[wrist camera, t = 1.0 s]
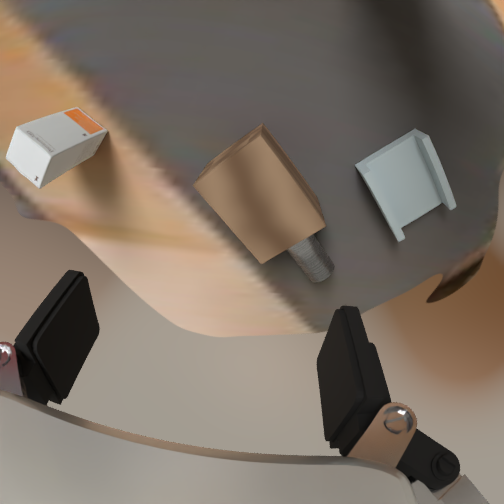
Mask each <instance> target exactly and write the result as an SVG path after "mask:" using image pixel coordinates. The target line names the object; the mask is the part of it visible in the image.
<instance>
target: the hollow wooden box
mask: <svg viewBox="0 0 504 504" xmlns="http://www.w3.org/2000/svg"><path fill="white" fill-rule="evenodd" d="M193 186H194V187H195V189H196V190H197V191H198V192H199V193H200V194H201V195H202V197H203V198H204V199H205V200H206V201H207V202H208V204H209V205H210V206H211V207H212V208H213V209H214V210H215V212H216V213H217V214H218V215H219V216H220V217H221V218H222V220H223V221H224V222H225V223H226V224H227V225H228V226H229V228H230V229H231V230H232V231H233V232H234V233H235V235H236V236H237V237H238V238H239V239H240V240H241V241H242V243H243V244H244V245H245V246H246V247H247V248H248V249H249V251H250V252H251V253H252V254H253V255H254V256H255V257H256V259H257V260H258V261H259V262H260V263H261V264H263V263H264V262H266V261H268V260H269V259H271V258H273V257H275V256H276V255H278V254H280V253H282V252H283V251H285V250H287V249H288V248H290V247H292V246H293V245H295V244H297V243H299V242H300V241H302V240H304V239H305V238H307V237H309V236H310V235H312V234H314V233H316V232H317V231H319V230H321V229H322V228H324V227H326V224H325V221H324V217H323V214H322V211H321V208H320V205H319V202H318V198H317V196H316V195H315V193H314V192H313V191H312V189H311V188H310V186H309V185H308V183H307V182H306V181H305V179H304V178H303V176H302V175H301V173H300V172H299V171H298V169H297V168H296V167H295V165H294V164H293V162H292V161H291V160H290V158H289V157H288V156H287V154H286V153H285V151H284V150H283V149H282V147H281V146H280V145H279V143H278V142H277V141H276V139H275V138H274V137H273V135H272V134H271V133H270V132H269V130H268V129H267V128H266V126H265V125H264V124H263V123H262V124H261V125H259V126H258V127H257V128H255V129H254V130H252V131H251V132H249V133H248V134H247V135H245V136H244V137H242V138H241V139H240V140H238V141H237V142H236V143H234V144H233V145H231V146H230V147H229V148H227V149H226V150H225V151H223V152H222V153H221V154H219V155H218V156H217V157H215V158H214V159H213V160H211V161H210V162H209V163H208V164H207V165H206V167H205V168H204V170H203V171H202V173H201V174H200V176H199V177H198V179H197V180H196V182H195V183H194V185H193Z"/></svg>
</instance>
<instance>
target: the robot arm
mask: <svg viewBox="0 0 504 504" xmlns="http://www.w3.org/2000/svg"><path fill="white" fill-rule="evenodd" d="M98 335H99V323H98V320H97V316H96V312H95V308H94V305H93V300H92V296H91V292H90V288H89V283H88V279H87V277H86V276H84V274H83V272H79V271H74V270H68V271H67V272H66V273H65V275H64V276H63V277H62V278H61V279H60V281H59V282H58V283H57V284H56V286H55V287H54V288H53V289H52V290H51V292H50V293H49V294H48V296H47V297H46V298H45V299H44V301H43V302H42V303H41V305H40V306H39V307H38V308H37V310H36V311H35V312H34V314H33V315H32V316H31V318H30V319H29V321H28V322H27V323H26V325H25V326H24V328H23V329H22V330H21V332H20V333H19V335H18V336H17V337H16V339H15V342H16V343H15V344H14V346H13V345H12V344H10V343H8V342H0V504H489V503H488V501H487V500H486V499H485V498H484V497H483V495H482V494H481V493H480V492H479V491H478V489H477V488H476V487H475V486H474V485H473V484H472V482H471V481H470V480H469V479H468V477H467V476H466V475H463V476H461V475H460V473H459V472H460V464H459V460H458V458H457V457H456V455H455V454H453V453H452V452H451V451H449V450H448V449H446V448H445V447H443V446H442V445H440V444H439V443H437V442H435V441H434V440H433V439H431V438H430V437H428V436H427V435H425V434H424V433H422V432H421V431H419V430H418V429H416V427H417V418H416V416H415V414H414V412H413V411H412V410H411V409H410V408H409V407H408V406H407V405H404V404H402V403H397V402H393V403H392V402H391V398H390V395H389V391H388V387H387V384H386V381H385V377H384V374H383V370H382V367H381V363H380V360H379V357H378V353H377V350H376V347H375V345H374V344H373V343H369V341H368V338H367V334H366V332H365V328H364V325H363V322H362V319H361V315H360V312H359V309H358V308H357V307H353V306H341V308H340V309H336V310H335V313H334V315H333V318H332V321H331V324H330V326H329V329H328V332H327V334H326V337H325V340H324V342H323V345H322V347H321V350H320V353H319V355H318V358H317V372H318V380H319V389H320V397H321V405H322V406H321V407H322V416H323V426H324V435H325V440H326V441H330V448H339V452H340V454H341V455H342V456H298V455H276V454H258V453H246V452H236V451H227V450H218V449H211V448H204V447H197V446H191V445H185V444H180V443H174V442H169V441H164V440H159V439H154V438H150V437H146V436H142V435H137V434H133V433H129V432H125V431H122V430H118V429H114V428H111V427H107V426H104V425H101V424H97V423H94V422H91V421H88V420H85V419H82V418H79V417H76V416H73V415H70V414H67V413H65V412H62V411H59V410H56V409H54V408H51V407H48V406H47V403H48V401H49V400H50V401H52V402H54V403H57V404H61V403H62V400H63V399H66V398H67V396H68V394H69V392H70V390H71V388H72V386H73V384H74V382H75V380H76V378H77V375H78V374H79V372H80V370H81V368H82V366H83V364H84V362H85V360H86V358H87V356H88V354H89V352H90V350H91V348H92V346H93V344H94V342H95V340H96V339H97V337H98Z"/></svg>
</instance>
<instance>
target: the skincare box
mask: <svg viewBox="0 0 504 504" xmlns="http://www.w3.org/2000/svg"><path fill="white" fill-rule="evenodd" d="M107 132H108V130H107V129H105V128H104V127H102V126H101V125H100V124H98V123H97V122H96V121H94V120H93V119H92V118H90V117H89V116H88V115H87V114H86V113H84V112H83V111H82V110H81V109H80V108H78V107H76V108H72V109H68V110H65V111H62V112H58V113H55V114H52V115H49V116H46V117H43V118H40V119H37V120H34V121H31V122H28V123H26V124H23V125H20V126H17V127H16V129H15V132H14V135H13V138H12V141H11V143H10V146H9V149H8V152H7V155H6V159H7V160H8V161H9V162H10V163H11V164H12V165H13V166H15V167H16V169H17V170H18V171H19V172H20V173H21V174H22V175H23V176H25V177H26V178H28V179H29V180H30V181H31V182H32V183H33V184H34V185H36V186H37V187H38V188H39V189H40V188H42V187H43V186H45V185H46V184H48V183H49V182H51V181H52V180H54V179H56V178H57V177H59V176H60V175H62V174H63V173H65V172H67V171H68V170H70V169H72V168H73V167H75V166H77V165H78V164H80V163H82V162H83V161H85V160H87V159H88V158H90V157H92V156H94V154H95V152H96V150H97V149H98V147H99V145H100V143H101V142H102V140H103V138H104V137H105V135H106V133H107Z"/></svg>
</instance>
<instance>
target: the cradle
mask: <svg viewBox="0 0 504 504" xmlns="http://www.w3.org/2000/svg"><path fill="white" fill-rule="evenodd" d="M355 166H356V168H357V170H358V171H359V173H360V175H361V176H362V178H363V180H364V181H365V183H366V185H367V187H368V188H369V190H370V192H371V194H372V196H373V197H374V199H375V201H376V203H377V205H378V207H379V208H380V210H381V212H382V214H383V216H384V218H385V220H386V222H387V224H388V225H389V227H390V229H391V231H392V232H393V234H394V235H395V237H396V239H397V240H398V242H400V241H401V240H403V239H405V236H404V234H403V232H402V230H401V228H402V227H404V226H405V225H407V224H409V223H410V222H412V221H414V220H415V219H417V218H419V217H420V216H422V215H423V214H425V213H427V212H428V211H430V210H432V209H433V208H435V207H436V206H438V205H440V204H441V203H444V204H445V205H446V206H447V207H448V208H449V209H450V210H452V209H454V208H455V207H457V206H456V203H455V200H454V197H453V194H452V191H451V189H450V186H449V183H448V181H447V178H446V175H445V173H444V170H443V168H442V165H441V163H440V160H439V158H438V155H437V153H436V151H435V148H434V146H433V144H432V142H431V139H430V137H429V135H427V134H425V133H423V132H421V131H419V130H417V129H414V130H412V131H410V132H408V133H407V134H405V135H403V136H402V137H400V138H398V139H397V140H395V141H393V142H392V143H390V144H388V145H387V146H385V147H383V148H382V149H380V150H379V151H377V152H375V153H374V154H372V155H370V156H369V157H367V158H365V159H364V160H362V161H360V162H359V163H357V164H355Z"/></svg>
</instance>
